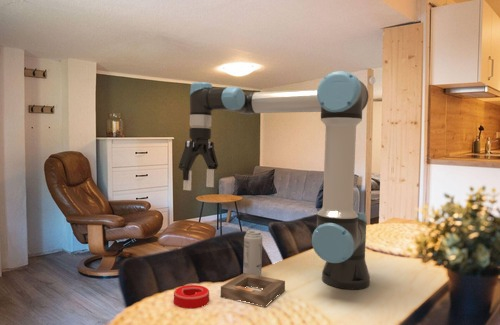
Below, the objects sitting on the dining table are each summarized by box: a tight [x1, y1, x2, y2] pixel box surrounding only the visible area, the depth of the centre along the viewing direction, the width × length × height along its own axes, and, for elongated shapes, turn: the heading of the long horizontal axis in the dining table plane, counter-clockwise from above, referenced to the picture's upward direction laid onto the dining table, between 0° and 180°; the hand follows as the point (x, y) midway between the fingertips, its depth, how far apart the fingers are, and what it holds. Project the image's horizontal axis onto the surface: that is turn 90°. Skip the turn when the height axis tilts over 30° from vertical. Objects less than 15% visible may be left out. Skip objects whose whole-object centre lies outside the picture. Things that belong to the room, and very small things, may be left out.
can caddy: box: [220, 273, 286, 307], centre depth 111 cm, size 14×14×3 cm
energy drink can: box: [242, 229, 263, 276], centre depth 126 cm, size 6×6×15 cm
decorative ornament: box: [173, 284, 210, 310], centre depth 105 cm, size 10×10×3 cm
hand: (199, 188), depth 133 cm, fingers open, 13 cm apart
